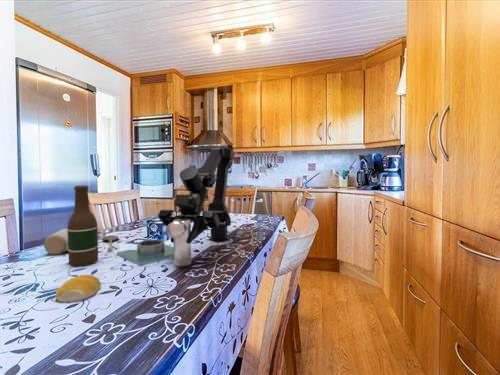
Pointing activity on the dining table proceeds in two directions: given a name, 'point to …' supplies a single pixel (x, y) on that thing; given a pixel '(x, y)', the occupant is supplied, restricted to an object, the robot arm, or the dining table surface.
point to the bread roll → (78, 288)
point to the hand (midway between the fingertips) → (180, 242)
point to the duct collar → (148, 252)
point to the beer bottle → (82, 231)
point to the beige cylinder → (57, 242)
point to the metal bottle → (180, 240)
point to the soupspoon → (110, 241)
